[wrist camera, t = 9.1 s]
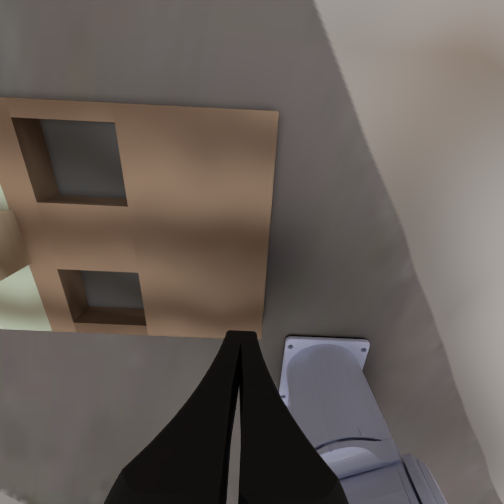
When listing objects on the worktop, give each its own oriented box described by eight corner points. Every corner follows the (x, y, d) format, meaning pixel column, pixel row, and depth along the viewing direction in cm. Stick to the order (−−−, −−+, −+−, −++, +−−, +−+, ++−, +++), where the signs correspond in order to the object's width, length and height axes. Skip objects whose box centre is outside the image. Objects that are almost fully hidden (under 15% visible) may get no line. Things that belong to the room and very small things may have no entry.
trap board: (260, 320, 24) (261, 339, 22) (11, 309, 24) (-14, 328, 22) (275, 114, 17) (279, 111, 15) (-78, 96, 17) (-131, 90, 14)
